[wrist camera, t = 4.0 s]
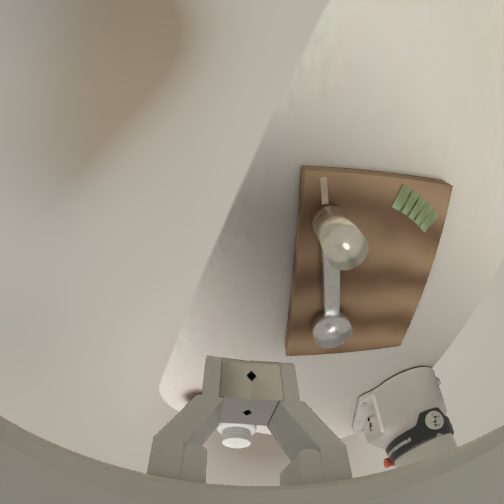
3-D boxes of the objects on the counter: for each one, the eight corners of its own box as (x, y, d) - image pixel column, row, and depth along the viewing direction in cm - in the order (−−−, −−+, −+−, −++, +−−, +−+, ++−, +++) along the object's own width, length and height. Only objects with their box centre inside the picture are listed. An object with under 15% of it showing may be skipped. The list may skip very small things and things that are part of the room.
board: (395, 336, 37) (400, 346, 35) (284, 344, 36) (286, 357, 34) (442, 180, 26) (453, 186, 24) (301, 165, 25) (305, 170, 23)
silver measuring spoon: (347, 333, 32) (360, 372, 27) (311, 340, 32) (320, 381, 27) (349, 198, 24) (376, 227, 19) (302, 205, 24) (317, 235, 19)
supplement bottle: (229, 398, 43) (227, 452, 34) (213, 381, 40) (207, 439, 31) (261, 391, 42) (263, 447, 33) (246, 373, 39) (245, 433, 30)
